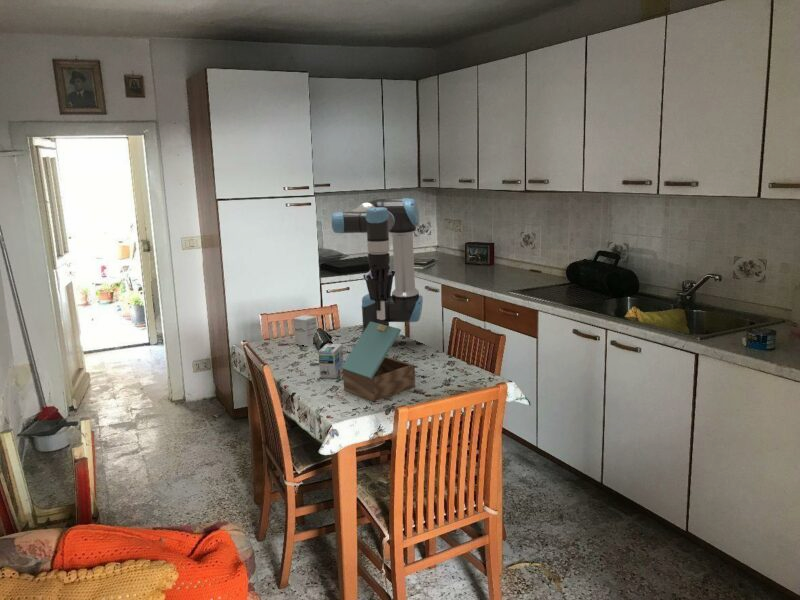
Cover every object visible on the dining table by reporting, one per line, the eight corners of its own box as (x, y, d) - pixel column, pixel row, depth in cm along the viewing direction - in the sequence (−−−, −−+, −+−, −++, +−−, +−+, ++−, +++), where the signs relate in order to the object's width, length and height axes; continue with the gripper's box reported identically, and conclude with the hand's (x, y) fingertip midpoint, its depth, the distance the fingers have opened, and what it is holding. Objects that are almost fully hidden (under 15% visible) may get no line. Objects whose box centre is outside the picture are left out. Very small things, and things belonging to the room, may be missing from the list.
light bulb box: (336, 378, 244) (334, 351, 242) (319, 378, 246) (317, 351, 243) (344, 369, 254) (342, 343, 252) (328, 369, 256) (326, 343, 254)
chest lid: (371, 322, 236) (369, 320, 235) (401, 330, 225) (398, 327, 224) (342, 368, 230) (340, 366, 229) (371, 378, 218) (369, 376, 217)
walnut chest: (386, 376, 245) (385, 356, 243) (415, 386, 233) (414, 365, 231) (344, 390, 232) (342, 368, 230) (372, 401, 220) (371, 378, 218)
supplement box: (294, 345, 291) (293, 317, 289) (306, 341, 297) (304, 314, 295) (306, 347, 287) (305, 319, 285) (318, 343, 293) (316, 316, 290)
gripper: (385, 249, 230) (388, 314, 235) (357, 254, 222) (360, 320, 227) (399, 251, 225) (401, 317, 230) (371, 255, 216) (373, 324, 221)
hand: (381, 318), depth 228 cm, fingers closed
